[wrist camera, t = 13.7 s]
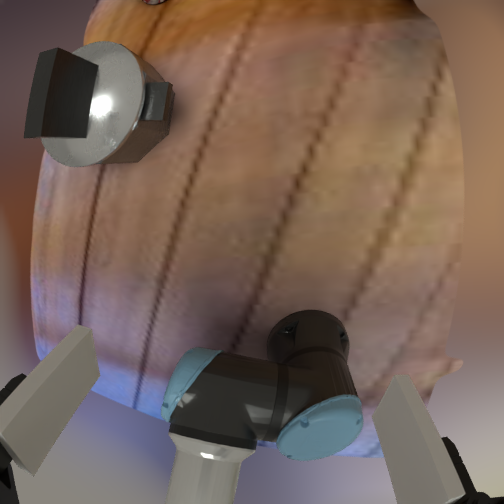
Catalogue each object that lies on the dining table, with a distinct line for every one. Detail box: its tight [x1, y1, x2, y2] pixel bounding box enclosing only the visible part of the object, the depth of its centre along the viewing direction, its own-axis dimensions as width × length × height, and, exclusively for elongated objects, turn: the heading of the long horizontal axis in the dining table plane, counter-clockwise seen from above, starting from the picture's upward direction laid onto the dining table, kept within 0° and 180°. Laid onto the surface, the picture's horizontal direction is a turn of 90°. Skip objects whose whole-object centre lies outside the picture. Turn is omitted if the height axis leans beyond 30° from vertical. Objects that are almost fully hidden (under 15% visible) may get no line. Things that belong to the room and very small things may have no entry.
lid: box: [24, 41, 145, 167], centre depth 26 cm, size 18×18×12 cm
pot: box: [97, 44, 175, 164], centre depth 36 cm, size 17×23×12 cm
